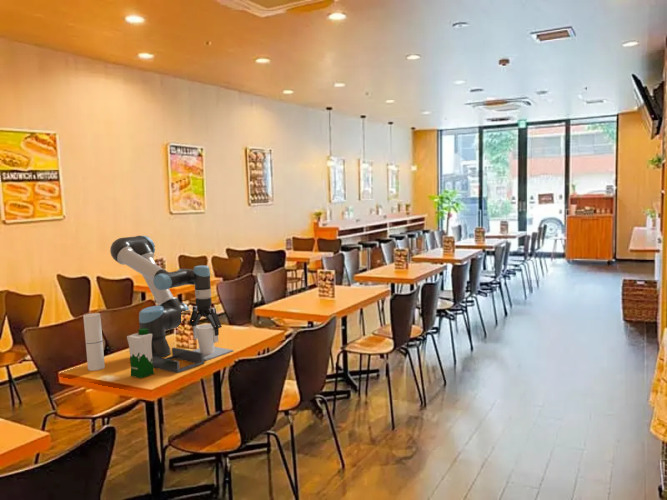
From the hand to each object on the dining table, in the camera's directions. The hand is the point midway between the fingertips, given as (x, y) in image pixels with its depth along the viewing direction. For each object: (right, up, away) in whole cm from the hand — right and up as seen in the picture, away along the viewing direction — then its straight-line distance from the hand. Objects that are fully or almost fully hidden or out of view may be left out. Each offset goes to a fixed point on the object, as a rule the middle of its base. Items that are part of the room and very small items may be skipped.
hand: (206, 340), depth 279 cm
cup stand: (-10, -9, -16) cm, 21 cm away
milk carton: (-21, -11, -29) cm, 38 cm away
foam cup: (0, -6, 0) cm, 6 cm away
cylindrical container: (-47, -10, -16) cm, 51 cm away
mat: (0, -7, +1) cm, 7 cm away
